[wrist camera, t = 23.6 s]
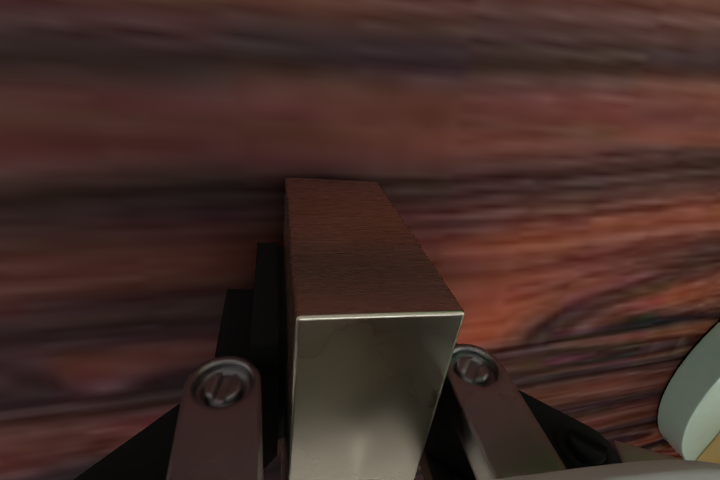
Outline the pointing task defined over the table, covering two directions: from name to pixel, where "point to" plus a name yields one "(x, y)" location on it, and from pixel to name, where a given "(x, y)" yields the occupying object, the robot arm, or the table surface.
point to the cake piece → (711, 452)
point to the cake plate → (693, 400)
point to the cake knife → (359, 335)
